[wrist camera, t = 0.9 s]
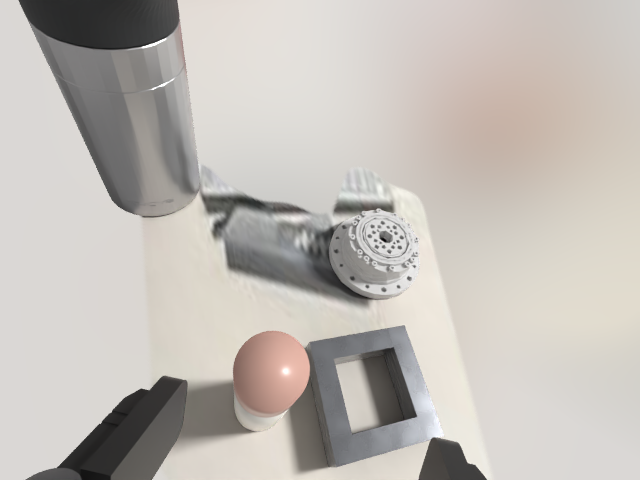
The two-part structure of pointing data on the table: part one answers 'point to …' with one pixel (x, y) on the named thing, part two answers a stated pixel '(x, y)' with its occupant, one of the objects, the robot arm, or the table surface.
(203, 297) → the table surface
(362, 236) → the mechanical component
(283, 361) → the peg
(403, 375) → the socket
